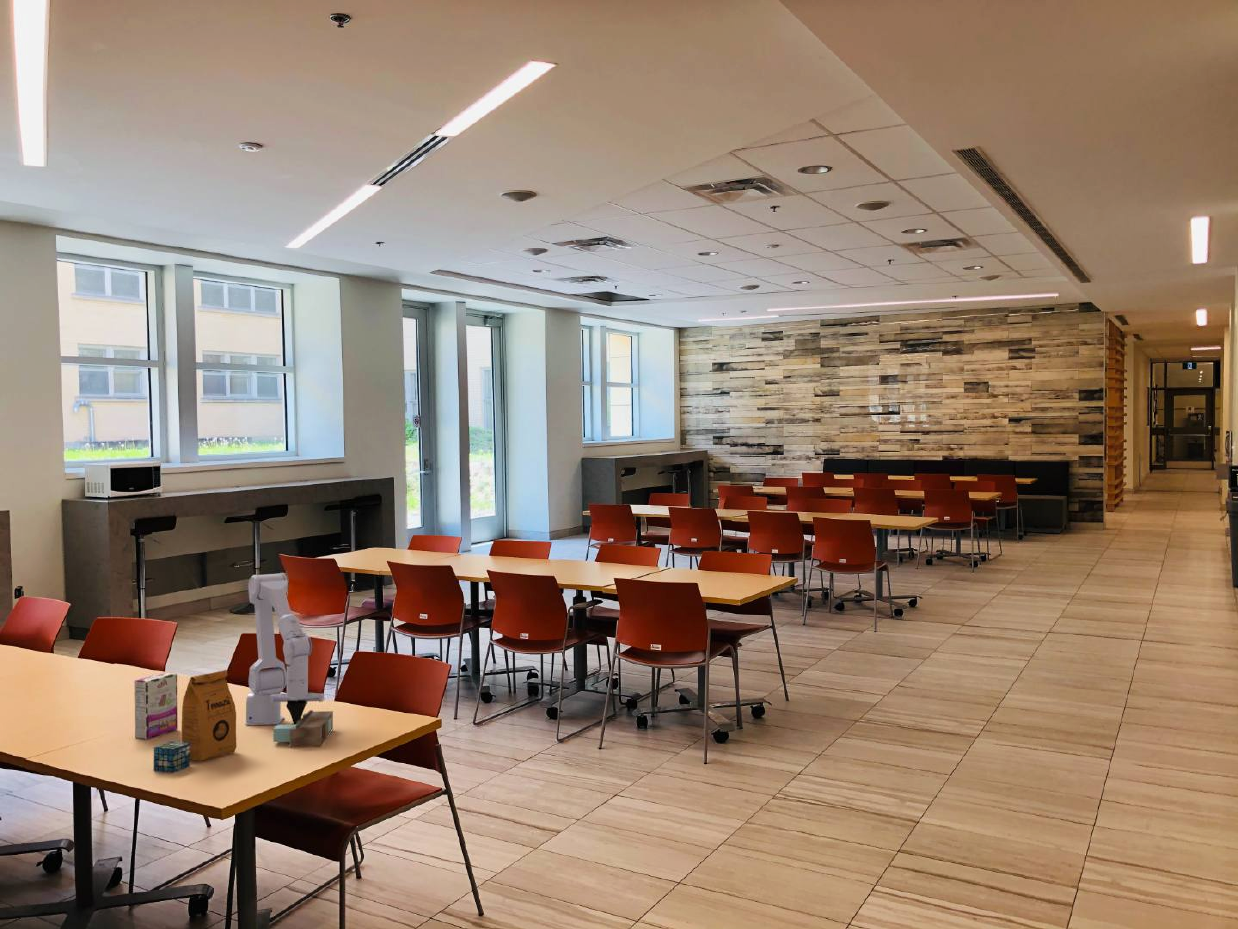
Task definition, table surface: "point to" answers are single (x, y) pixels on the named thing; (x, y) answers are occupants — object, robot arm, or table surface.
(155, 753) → the puzzle
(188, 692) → the coffee package
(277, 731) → the peg near
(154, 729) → the candy bar box
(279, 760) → the table surface
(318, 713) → the sleeve block
